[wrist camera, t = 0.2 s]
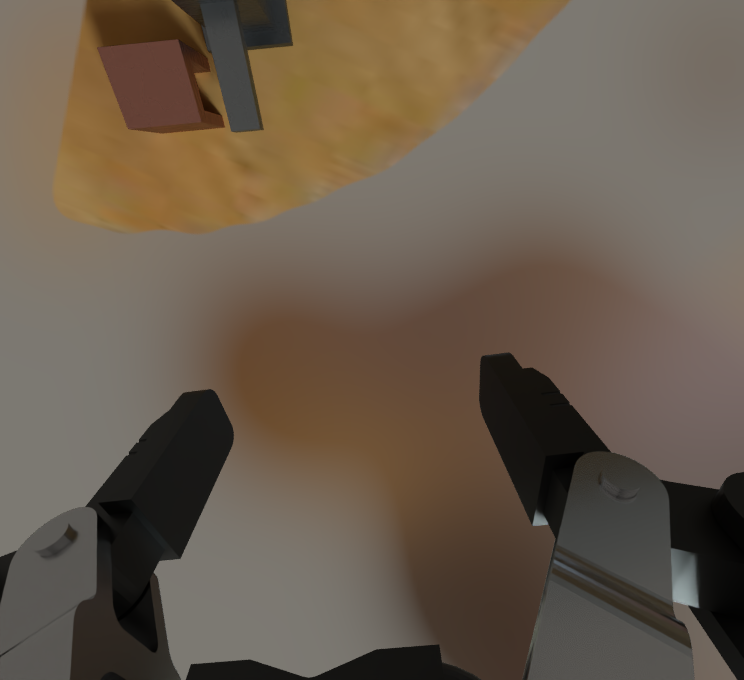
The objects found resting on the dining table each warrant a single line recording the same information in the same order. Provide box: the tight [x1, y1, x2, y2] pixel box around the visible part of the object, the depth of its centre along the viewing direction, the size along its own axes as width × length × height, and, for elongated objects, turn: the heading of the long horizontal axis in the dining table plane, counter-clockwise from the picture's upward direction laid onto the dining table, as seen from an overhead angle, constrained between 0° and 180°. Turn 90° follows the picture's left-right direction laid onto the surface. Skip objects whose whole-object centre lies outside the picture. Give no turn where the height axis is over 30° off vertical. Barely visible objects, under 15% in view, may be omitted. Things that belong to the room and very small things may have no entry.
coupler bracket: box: [172, 0, 293, 132], centre depth 23 cm, size 11×7×10 cm, turn 5°
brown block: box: [97, 39, 225, 133], centre depth 27 cm, size 6×5×5 cm
